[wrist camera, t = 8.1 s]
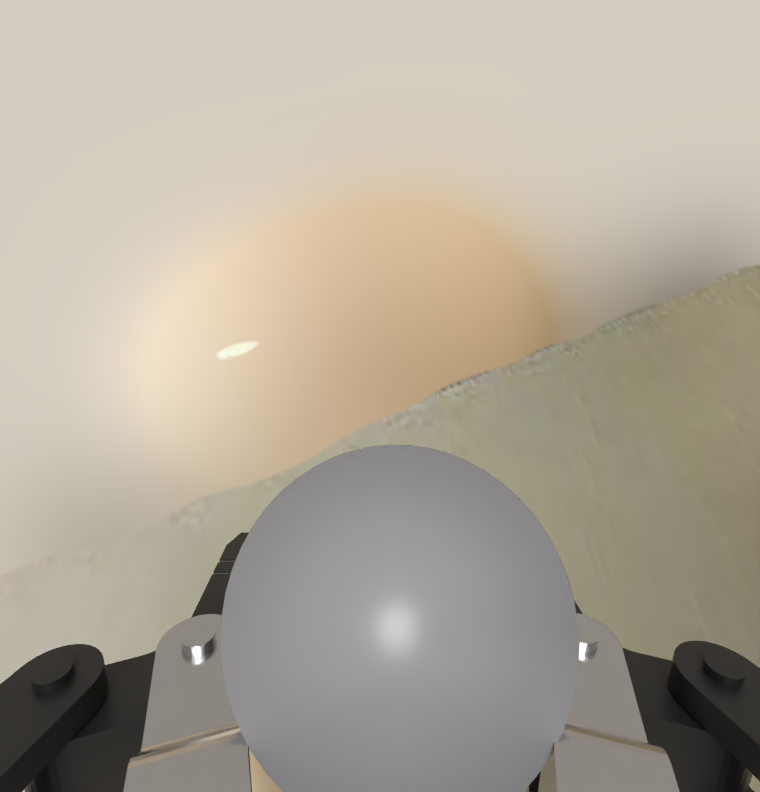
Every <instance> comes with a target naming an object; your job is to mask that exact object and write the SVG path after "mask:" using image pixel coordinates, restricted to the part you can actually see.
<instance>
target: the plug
mask: <svg viewBox="0 0 760 792" xmlns="http://www.w3.org/2000/svg"><path fill="white" fill-rule="evenodd" d="M220 645H221V657H222V669H223V675H224V680H225V685H226V689H227V694H228V699H229V702H230V705H231V707H232V710H233V713H234V716H235V719H236V722H237V725H238V727H239V729H240V731H241V733H242V735H243V737H244V739H245V741H246V743H247V745H248V747H249V749H250V751H251V752H252V754H253V755H254V756H255V758H256V759H257V761H258V762H259V764H260V765H261V767H262V768H263V770H264V771H265V772H266V774H267V775H268V776H269V777H270V778H271V779H272V780H273V782H274V783H275V784H276V785H277V786H278V787H279V788H280V789H281V790H282V791H283V792H523V791H524V790H525V789H526V788H527V787H528V786H529V784H530V783H531V782H532V781H533V780H534V779H535V778H536V777H537V775H538V774H539V772H540V771H541V769H542V768H543V766H544V765H545V763H546V762H547V761H548V759H549V758H550V756H551V755H552V753H553V745H554V742H558V740H559V738H560V736H561V734H562V732H563V730H564V728H565V725H566V722H567V719H568V716H569V713H570V710H571V707H572V703H573V699H574V693H575V688H576V683H577V678H578V665H579V651H580V649H579V630H578V620H577V614H576V608H575V602H574V597H573V594H572V590H571V587H570V584H569V580H568V577H567V574H566V571H565V569H564V567H563V564H562V562H561V559H560V557H559V555H558V552H557V550H556V549H555V547H554V545H553V543H552V541H551V540H550V538H549V536H548V534H547V532H546V531H545V530H544V528H543V527H542V525H541V524H540V523H539V521H538V520H537V518H536V517H535V516H534V514H533V513H532V512H531V511H530V510H529V508H528V507H527V506H526V505H525V504H524V503H523V502H522V501H521V500H520V498H519V497H518V496H517V495H515V494H514V493H513V492H512V491H511V490H510V489H509V488H508V487H506V486H505V485H504V484H503V483H502V482H500V481H499V480H498V479H496V478H495V477H493V476H492V475H491V474H489V473H488V472H486V471H485V470H483V469H481V468H479V467H477V466H476V465H474V464H472V463H470V462H468V461H466V460H464V459H461V458H459V457H456V456H454V455H451V454H449V453H445V452H442V451H438V450H434V449H431V448H425V447H418V446H411V445H383V446H373V447H367V448H362V449H358V450H353V451H350V452H347V453H344V454H341V455H339V456H336V457H333V458H331V459H329V460H327V461H325V462H323V463H321V464H319V465H317V466H315V467H313V468H312V469H310V470H309V471H307V472H306V473H304V474H303V475H301V476H300V477H298V478H297V479H295V480H294V481H293V482H292V483H291V484H290V485H288V486H287V487H286V488H285V489H284V490H283V491H281V492H280V493H279V494H278V496H277V497H276V498H275V499H274V500H273V501H272V502H271V503H270V504H269V505H268V506H267V507H266V509H265V510H264V511H263V513H262V514H261V516H260V517H259V518H258V520H257V521H256V522H255V524H254V525H253V527H252V528H251V530H250V532H249V534H248V536H247V537H246V539H245V541H244V543H243V545H242V546H241V549H240V551H239V554H238V556H237V558H236V561H235V563H234V566H233V568H232V571H231V575H230V578H229V582H228V585H227V589H226V592H225V599H224V605H223V611H222V618H221V643H220Z"/></svg>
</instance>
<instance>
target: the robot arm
mask: <svg viewBox="0 0 760 792" xmlns="http://www.w3.org/2000/svg"><path fill="white" fill-rule="evenodd" d="M248 534H249V533H241V534H239V535H238V536H237V537H236V538H235V539H233V540H232V541H231V542H230V543H229V544H228V545H227V546H226V548H225V550H224V552H223V554H222V556H221V558H220V562H219V563H218V564H217V566H216V568H215V570H214V574H213V575H212V576H211V578H210V580H209V583H208V585H207V587H206V589H205V591H204V593H203V595H202V597H201V599H200V601H199V603H198V605H197V607H196V609H195V611H194V613H193V615H192V617H191V618H189V619H186V620H184V621H182V622H180V623H179V624H177V625H175V626H174V627H173V628H171V629H170V630H169V631H168V632H167V633H166V634H165V635H164V636H163V637H162V639H161V640H160V642H159V644H158V646H157V649H156V651H154V652H151V653H149V654H146V655H142V656H139V657H135V658H131V659H127V660H124V661H120V662H116V663H112V664H108V665H105V664H104V658H103V655H102V653H101V652H100V651H99V650H98V649H97V648H95V647H93V646H90V645H85V644H74V645H67V646H63V647H59V648H56V649H53V650H50V651H48V652H45V653H43V654H41V655H39V656H37V657H36V658H34V659H32V660H31V661H29V662H28V663H26V664H25V665H24V666H22V667H21V668H20V669H18V670H17V671H16V672H15V673H14V674H12V675H11V676H10V677H9V678H8V679H6V680H5V681H4V682H3V683H1V684H0V792H22V791H23V790H24V789H25V792H252V782H251V768H250V754H249V747H248V745H247V743H246V741H245V739H244V737H243V735H242V733H241V731H240V729H239V727H238V725H237V722H236V719H235V716H234V713H233V710H232V707H231V705H230V702H229V699H228V694H227V689H226V685H225V680H224V675H223V669H222V657H221V645H220V643H221V618H222V611H223V605H224V599H225V592H226V589H227V585H228V582H229V578H230V575H231V571H232V568H233V566H234V563H235V561H236V558H237V556H238V554H239V551H240V549H241V546H242V545H243V543H244V541H245V539H246V537H247V536H248ZM574 602H575V601H574ZM575 608H576V614H577V620H578V630H579V649H580V651H579V665H578V678H577V683H576V688H575V693H574V699H573V703H572V707H571V710H570V713H569V716H568V719H567V722H566V725H565V728H564V730H563V732H562V734H561V736H560V738H559V740H558V742H554V745H553V753H552V755H551V756H550V758H549V759H548V761H547V762H546V763H545V765H544V766H543V768H542V769H541V771H540V772H539V774H538V775H537V777H536V778H535V779H534V780H533V781H532V782H531V783H530V784H529V786H528V787H527V788H526V792H754V791H753V790H752V789H751V788H750V787H749V783H750V780H751V777H752V774H753V775H754V776H755V777H756V778H757V779H758V780H759V781H760V668H758V667H757V666H756V665H754V664H753V663H752V662H750V661H749V660H747V659H746V658H745V657H743V656H741V655H739V654H738V653H736V652H734V651H732V650H730V649H728V648H725V647H722V646H720V645H717V644H713V643H709V642H704V641H688V642H684V643H682V644H680V645H679V646H678V647H677V648H676V649H675V652H674V656H673V661H670V660H665V659H661V658H657V657H653V656H649V655H644V654H640V653H636V652H633V651H629V650H627V649H624V648H622V646H621V643H620V641H619V640H618V638H617V637H616V636H615V634H614V633H613V632H612V631H611V630H610V629H609V628H607V627H606V626H605V625H603V624H602V623H600V622H599V621H597V620H595V619H593V618H591V617H588V616H585V615H583V614H582V612H581V611H580V609H579V607H578V606H577V604H576V602H575Z"/></svg>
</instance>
